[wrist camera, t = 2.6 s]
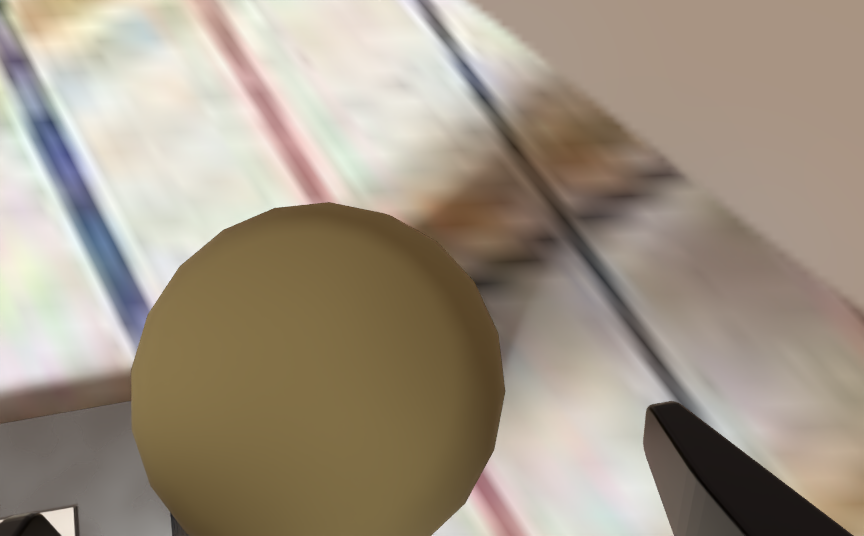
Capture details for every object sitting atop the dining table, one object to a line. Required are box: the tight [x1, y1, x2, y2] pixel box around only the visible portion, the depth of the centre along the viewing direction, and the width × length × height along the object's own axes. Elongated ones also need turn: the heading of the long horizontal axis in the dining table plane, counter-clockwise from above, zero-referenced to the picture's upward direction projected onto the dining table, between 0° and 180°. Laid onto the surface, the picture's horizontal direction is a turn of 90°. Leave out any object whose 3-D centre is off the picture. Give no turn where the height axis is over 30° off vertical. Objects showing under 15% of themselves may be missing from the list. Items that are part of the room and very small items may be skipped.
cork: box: [131, 202, 505, 536], centre depth 12 cm, size 6×6×11 cm
